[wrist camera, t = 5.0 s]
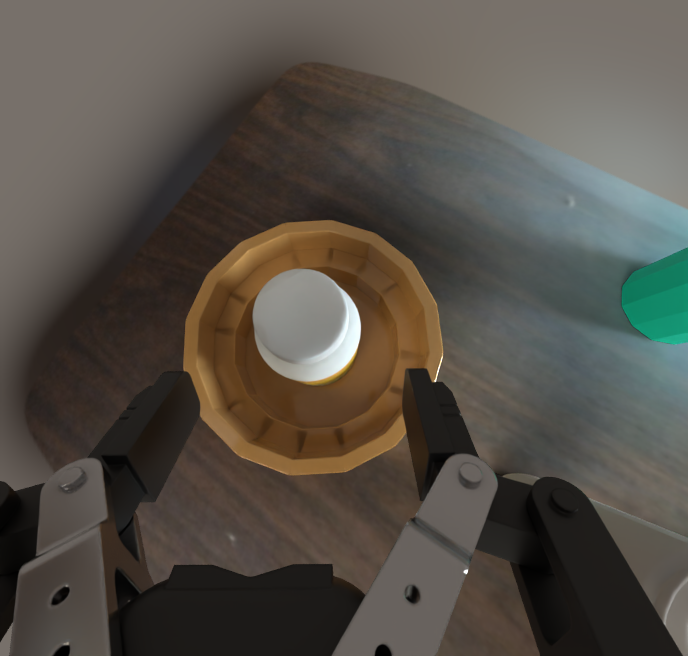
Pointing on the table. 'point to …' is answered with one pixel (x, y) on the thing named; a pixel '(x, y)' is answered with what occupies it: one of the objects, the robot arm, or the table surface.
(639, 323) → the candle
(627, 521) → the beverage can
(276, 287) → the supplement bottle
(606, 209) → the table surface
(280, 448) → the bowl
